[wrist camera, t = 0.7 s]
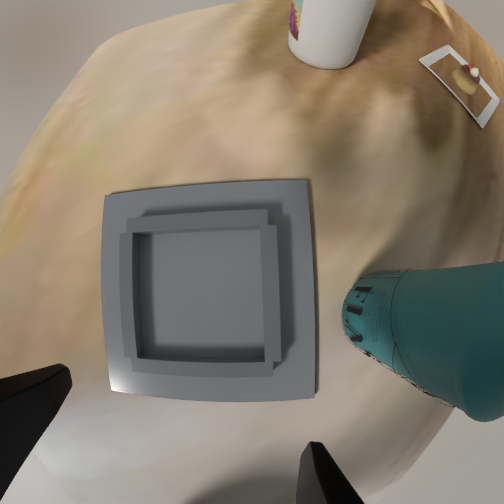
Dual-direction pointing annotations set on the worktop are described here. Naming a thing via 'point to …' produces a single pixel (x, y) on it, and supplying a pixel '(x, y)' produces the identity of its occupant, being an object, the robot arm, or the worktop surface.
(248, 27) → the worktop surface
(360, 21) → the milk bottle
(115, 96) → the worktop surface
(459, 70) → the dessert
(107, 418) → the worktop surface
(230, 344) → the grey square base plate
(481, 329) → the beverage bottle
